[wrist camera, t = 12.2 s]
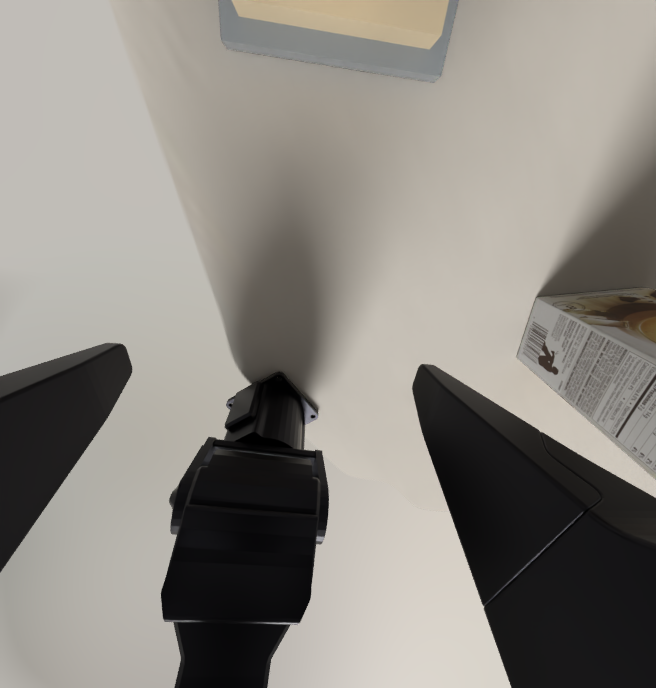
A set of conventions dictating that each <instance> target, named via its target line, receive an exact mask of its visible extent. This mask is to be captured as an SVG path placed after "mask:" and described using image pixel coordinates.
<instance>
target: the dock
mask: <svg viewBox="0 0 656 688" xmlns="http://www.w3.org/2000/svg"><path fill="white" fill-rule="evenodd" d="M458 1H459V0H219V16H220V32H221V41H222V42H223V44H224V46H225V47H226V49H230V50H236V51H242V52H248V53H254V54H260V55H266V56H273V57H279V58H285V59H291V60H297V61H303V62H309V63H316V64H322V65H328V66H334V67H340V68H346V69H353V70H359V71H365V72H371V73H377V74H383V75H389V76H396V77H402V78H408V79H414V80H420V81H426V82H432V83H434V82H435V81H436V80H437V79H439V78H440V77H441V74H442V70H443V66H444V61H445V57H446V53H447V48H448V44H449V40H450V35H451V31H452V27H453V22H454V18H455V14H456V9H457V5H458Z"/></svg>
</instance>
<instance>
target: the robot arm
mask: <svg viewBox="0 0 656 688" xmlns="http://www.w3.org/2000/svg"><path fill="white" fill-rule="evenodd" d="M131 373H132V365H131V362H130V359H129V355H128V353H127V349H126V347H125V346H124V345H123V344H118V343H105V344H102V345H98V346H95V347H92V348H89V349H86V350H83V351H79V352H76V353H73V354H70V355H66V356H63V357H60V358H57V359H54V360H51V361H48V362H44V363H41V364H38V365H35V366H32V367H28V368H25V369H22V370H19V371H16V372H13V373H9V374H6V375H3V376H0V572H1V571H2V569H3V568H4V566H5V565H6V563H7V562H8V561H9V559H10V558H11V556H12V555H13V553H14V552H15V551H16V549H17V548H18V546H19V545H20V543H21V542H22V541H23V539H24V538H25V536H26V535H27V533H28V532H29V530H30V529H31V528H32V526H33V525H34V523H35V522H36V520H37V519H38V518H39V516H40V515H41V513H42V511H43V510H44V509H45V507H46V506H47V505H48V503H49V502H50V500H51V499H52V497H53V496H54V494H55V493H56V492H57V490H58V489H59V487H60V486H61V484H62V483H63V481H64V480H65V479H66V477H67V476H68V474H69V473H70V471H71V470H72V469H73V467H74V466H75V464H76V463H77V461H78V460H79V459H80V457H81V456H82V454H83V453H84V451H85V450H86V448H87V447H88V446H89V444H90V443H91V441H92V440H93V438H94V437H95V435H96V434H97V433H98V431H99V430H100V428H101V427H102V425H103V424H104V422H105V421H106V419H107V418H108V416H109V414H110V413H111V411H112V409H113V407H114V405H115V403H116V402H117V400H118V398H119V396H120V394H121V393H122V390H123V389H124V387H125V385H126V383H127V382H128V380H129V378H130V376H131ZM277 377H281V379H278V378H277ZM412 390H413V395H414V400H415V404H416V408H417V413H418V417H419V422H420V426H421V430H422V433H423V436H424V440H425V442H426V445H427V448H428V451H429V454H430V457H431V459H432V462H433V465H434V468H435V471H436V474H437V477H438V479H439V482H440V485H441V488H442V491H443V494H444V496H445V499H446V502H447V505H448V508H449V511H450V513H451V516H452V519H453V522H454V525H455V528H456V530H457V533H458V536H459V539H460V542H461V545H462V548H463V550H464V553H465V556H466V559H467V562H468V565H469V568H470V570H471V573H472V576H473V579H474V582H475V585H476V587H477V590H478V593H479V596H480V599H481V602H482V604H483V606H484V611H485V614H486V617H487V619H488V622H489V625H490V628H491V631H492V634H493V636H494V639H495V642H496V645H497V648H498V651H499V653H500V656H501V659H502V662H503V665H504V668H505V671H506V673H507V676H508V679H509V682H510V685H511V688H656V498H655V497H653V496H651V495H650V494H648V493H646V492H644V491H642V490H641V489H639V488H637V487H635V486H633V485H632V484H630V483H628V482H626V481H625V480H623V479H621V478H619V477H617V476H616V475H614V474H612V473H610V472H609V471H607V470H605V469H603V468H602V467H600V466H598V465H596V464H595V463H593V462H591V461H589V460H588V459H586V458H584V457H582V456H581V455H579V454H577V453H576V452H574V451H572V450H571V449H569V448H567V447H566V446H564V445H562V444H561V443H559V442H557V441H556V440H554V439H552V438H551V437H549V436H548V435H546V434H544V433H543V432H540V431H539V430H538V429H536V428H535V427H533V426H531V425H530V424H528V423H526V422H525V421H523V420H522V419H520V418H518V417H517V416H515V415H514V414H512V413H510V412H509V411H507V410H505V409H504V408H502V407H501V406H499V405H497V404H496V403H494V402H493V401H491V400H489V399H488V398H486V397H484V396H483V395H481V394H480V393H478V392H476V391H475V390H473V389H472V388H470V387H468V386H467V385H465V384H463V383H462V382H460V381H459V380H457V379H455V378H454V377H452V376H451V375H449V374H447V373H446V372H444V371H442V370H441V369H439V368H438V367H436V366H434V365H428V364H422V365H420V366H419V368H418V370H417V373H416V376H415V379H414V382H413V386H412ZM231 403H233V404H231ZM226 406H227V407H228V408H229V409H230V412H229V415H228V418H227V421H226V423H225V428H226V429H227V433H226V436H225V439H224V440H217V439H216V438H213V437H208V439H207V441H206V442H205V444H204V445H202V447H201V448H200V450H199V451H198V453H197V455H196V456H195V458H194V460H193V461H192V463H191V465H190V466H189V468H188V469H187V471H186V473H185V474H184V476H183V478H182V479H181V481H180V483H179V485H178V486H177V488H176V489H175V490H174V491H173V492H172V494H171V496H170V500H169V503H170V505H171V507H172V509H173V512H172V519H171V534H175V535H177V537H176V541H175V545H174V548H173V552H172V556H171V560H170V563H169V567H168V571H167V575H166V578H165V582H164V585H163V588H162V591H161V601H162V611H163V619H164V621H165V622H174V627H175V632H176V636H177V641H178V645H179V650H180V655H181V662H180V667H179V671H178V675H177V679H176V684H175V688H267V685H268V677H269V670H270V663H271V659H272V657H273V654H274V653H275V651H276V649H277V648H278V646H279V644H280V642H281V641H282V639H283V637H284V635H285V633H286V632H287V630H288V628H289V626H290V625H298V624H299V623H300V621H301V619H302V617H303V615H304V612H305V610H306V608H307V606H308V603H309V601H310V598H311V584H312V577H313V567H314V558H315V548H316V544H322V542H323V540H324V536H325V533H326V526H327V520H328V508H329V494H328V484H327V478H326V472H325V466H324V461H323V455H322V451H320V450H315V451H309V450H304V437H305V425H306V424H308V423H310V422H312V421H314V420H316V419H317V418H318V412H317V411H316V409H315V408H314V407H313V406H312V405H311V404H310V403H309V402H308V401H307V399H306V398H305V397H304V396H303V395H302V394H301V393H300V392H299V390H298V389H297V388H296V387H295V386H294V385H293V384H292V383H291V381H290V380H289V379H288V378H287V377H286V376H285V375H284V374H283V373H281V372H277V373H275V374H273V375H271V376H269V377H268V378H266V379H264V380H262V381H257V382H255V383H254V384H252V385H250V386H248V387H247V388H245V389H243V390H241V391H239V392H238V393H237V394H236V395H235V396H234V397H232V398H230V399H229V400H228V401H227V404H226Z"/></svg>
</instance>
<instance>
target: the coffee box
mask: <svg viewBox="0 0 656 688" xmlns="http://www.w3.org/2000/svg"><path fill="white" fill-rule="evenodd" d="M517 359H518V360H520V361H521V362H522V363H523V364H524V365H525V366H527V367H528V368H529V369H530V370H531V371H532V372H533V373H535V374H536V375H537V376H538V377H539V378H540V379H541V380H543V381H544V382H545V383H546V384H547V385H548V386H549V387H550V388H552V389H553V390H554V391H555V392H556V393H558V394H559V395H560V396H561V397H562V398H563V399H564V400H566V401H567V402H568V403H569V404H570V405H571V406H572V407H573V408H575V409H576V410H577V411H578V412H579V413H580V414H581V415H582V416H584V417H585V418H586V419H587V420H588V421H589V422H590V423H591V424H593V425H594V426H595V427H596V428H597V429H598V430H599V431H601V432H602V433H603V434H604V435H605V436H606V437H607V438H609V439H610V440H611V441H612V442H613V443H614V444H615V445H616V446H618V447H619V448H620V449H621V450H622V451H623V452H624V453H626V454H627V455H628V456H629V457H630V458H631V459H632V460H634V461H635V462H636V463H637V464H638V465H639V466H640V467H641V468H643V469H644V470H645V471H646V472H647V473H648V474H649V475H651V476H652V477H653V478H654V479H655V480H656V290H653V289H650V288H645V287H644V288H632V289H621V290H610V291H599V292H588V293H577V294H565V295H554V296H543V297H537V298H536V300H535V303H534V306H533V309H532V312H531V315H530V318H529V321H528V324H527V327H526V330H525V333H524V336H523V339H522V342H521V345H520V349H519V352H518V355H517Z"/></svg>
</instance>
